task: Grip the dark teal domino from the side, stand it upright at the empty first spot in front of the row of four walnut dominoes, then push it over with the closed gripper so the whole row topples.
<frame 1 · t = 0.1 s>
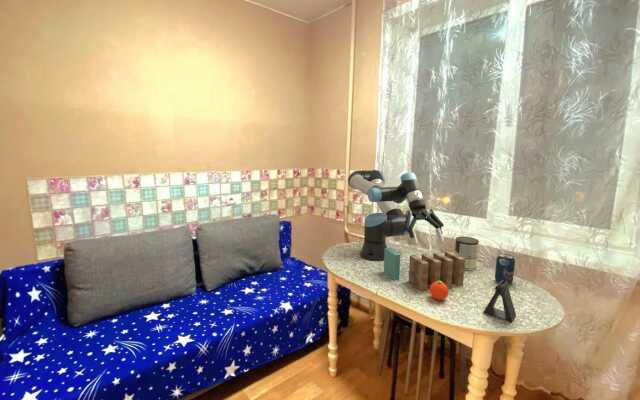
hand: (429, 243, 139), 15 cm above the table, tool tilted 35°, fingers open, 13 cm apart
soda can: (503, 281, 134), on the table
walnut domino 2: (417, 285, 130), on the table
teal domino: (391, 275, 140), on the table
walnut domino 3: (429, 283, 132), on the table
phone stand: (499, 314, 107), on the table
clementine: (438, 298, 119), on the table
walnut domino 5: (452, 280, 135), on the table
walnut domino 4: (441, 282, 133), on the table
coffee can: (464, 266, 151), on the table
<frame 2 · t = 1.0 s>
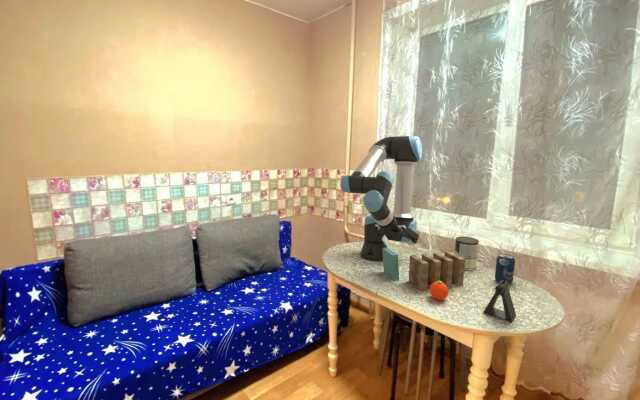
hand: (401, 245, 139), 14 cm above the table, tool tilted 45°, fingers open, 13 cm apart
teal domino: (391, 275, 140), on the table, tilted 6°
everything else where it was.
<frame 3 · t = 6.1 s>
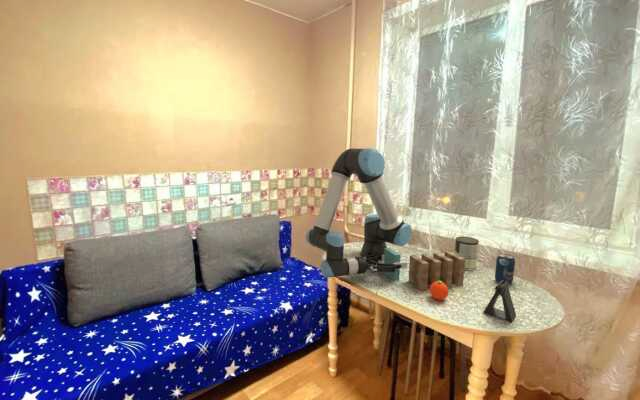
hand: (400, 260, 140), 7 cm above the table, tool horizontal, fingers closed on teal domino, 10 cm apart
teal domino: (391, 275, 140), on the table, touching gripper
everything else where it was.
when the fingers open (8 cm above the table, at t = 11.5 s): teal domino stays where it is, on the table.
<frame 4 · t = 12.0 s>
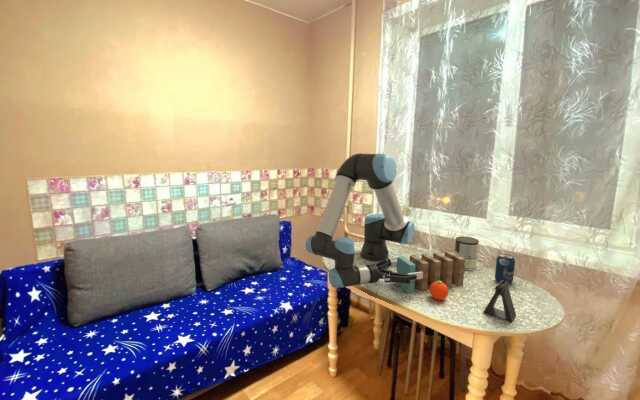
hand: (412, 268, 128), 8 cm above the table, tool horizontal, fingers open, 13 cm apart
teal domino: (404, 287, 128), on the table
everything else where it was.
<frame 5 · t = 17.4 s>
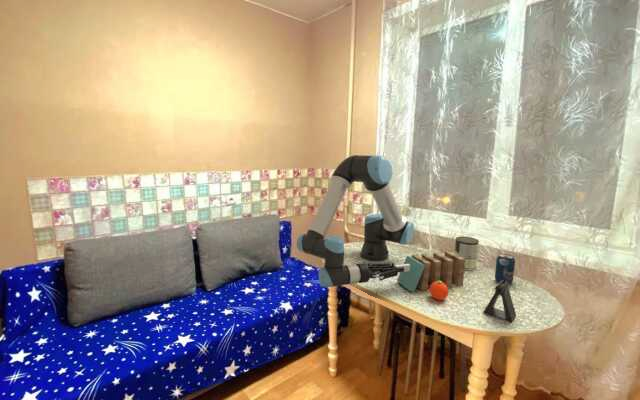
hand: (409, 267, 127), 9 cm above the table, tool horizontal, fingers closed
walnut domino 2: (417, 285, 130), on the table, tilted 5°
teal domino: (405, 286, 128), on the table, tilted 22°
everything else where it was.
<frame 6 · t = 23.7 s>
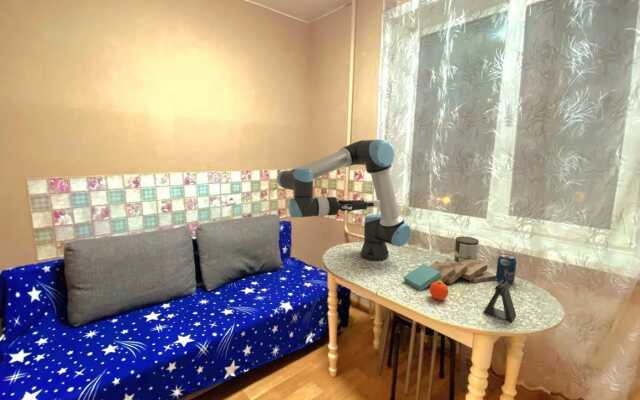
hand: (379, 203, 130), 35 cm above the table, tool horizontal, fingers closed
walnut domino 2: (427, 280, 132), point 1 cm above the table, tilted 68°, touching teal domino, walnut domino 3
teal domino: (411, 283, 129), point 1 cm above the table, tilted 70°, touching walnut domino 2
walnut domino 3: (440, 278, 134), point 1 cm above the table, tilted 68°, touching walnut domino 2
walnut domino 5: (465, 277, 137), point 1 cm above the table, tilted 90°, touching walnut domino 4
walnut domino 4: (459, 274, 136), point 2 cm above the table, tilted 77°, touching walnut domino 5
everything else where it was.
at the end: walnut domino 5 tilted 90°; walnut domino 3 tilted 67°; teal domino tilted 70° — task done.
